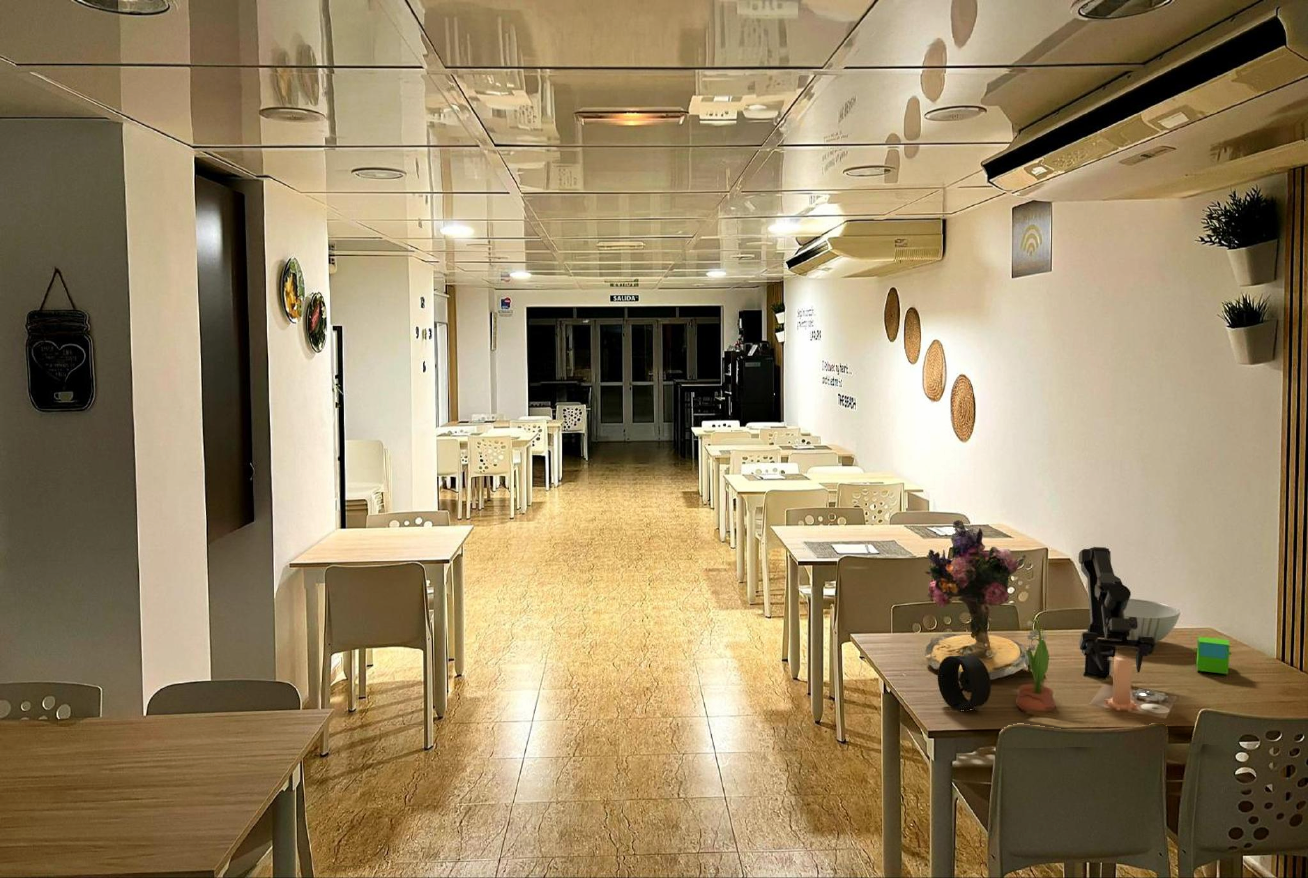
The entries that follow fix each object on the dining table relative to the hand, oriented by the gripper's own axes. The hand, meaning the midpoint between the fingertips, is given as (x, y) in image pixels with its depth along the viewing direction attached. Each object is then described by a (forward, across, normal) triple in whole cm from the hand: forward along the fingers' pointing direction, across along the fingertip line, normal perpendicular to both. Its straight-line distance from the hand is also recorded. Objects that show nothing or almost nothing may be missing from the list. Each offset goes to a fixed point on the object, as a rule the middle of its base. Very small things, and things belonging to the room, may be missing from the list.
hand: (1120, 670), depth 292 cm
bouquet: (-13, -34, +28) cm, 46 cm away
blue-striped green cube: (-24, +35, +39) cm, 58 cm away
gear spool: (+8, 0, +5) cm, 9 cm away
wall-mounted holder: (+14, -40, +2) cm, 42 cm away
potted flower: (+12, -23, +4) cm, 26 cm away
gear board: (+5, +4, +10) cm, 12 cm away
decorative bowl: (-43, +18, +57) cm, 74 cm away
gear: (+2, +9, +11) cm, 15 cm away
